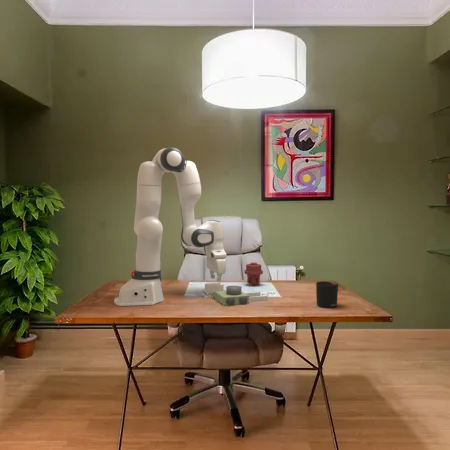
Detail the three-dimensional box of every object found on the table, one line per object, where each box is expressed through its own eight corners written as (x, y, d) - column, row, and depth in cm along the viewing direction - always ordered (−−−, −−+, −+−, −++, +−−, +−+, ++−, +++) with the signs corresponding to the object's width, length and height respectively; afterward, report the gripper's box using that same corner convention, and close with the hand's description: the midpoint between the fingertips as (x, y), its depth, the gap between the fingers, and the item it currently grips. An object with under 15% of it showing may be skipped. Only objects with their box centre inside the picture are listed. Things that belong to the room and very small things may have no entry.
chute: (208, 295, 199) (208, 285, 199) (204, 293, 204) (204, 283, 204) (223, 294, 202) (223, 284, 201) (219, 292, 207) (220, 282, 207)
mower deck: (224, 306, 179) (224, 291, 179) (214, 298, 194) (214, 284, 193) (271, 302, 187) (271, 288, 186) (257, 294, 201) (257, 281, 201)
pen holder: (316, 308, 177) (317, 285, 176) (315, 302, 186) (315, 281, 185) (339, 308, 175) (339, 285, 175) (336, 303, 185) (336, 281, 184)
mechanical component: (244, 283, 230) (262, 283, 229) (243, 286, 220) (262, 287, 219) (245, 261, 229) (262, 261, 228) (244, 264, 219) (262, 264, 218)
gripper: (202, 250, 211) (203, 277, 212) (215, 255, 191) (216, 284, 192) (214, 249, 213) (215, 275, 214) (227, 254, 194) (228, 283, 195)
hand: (215, 280), depth 203 cm, fingers open, 8 cm apart
